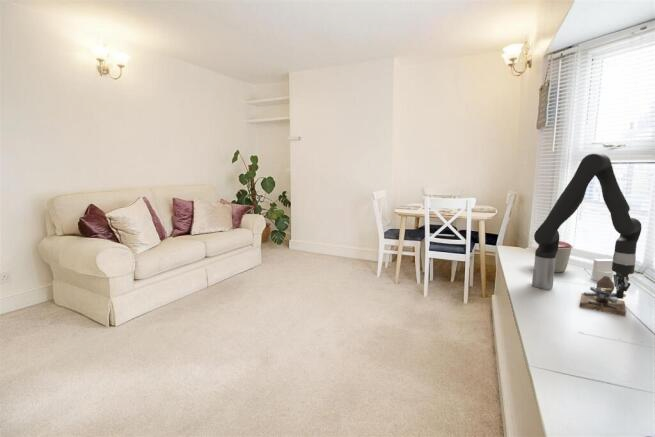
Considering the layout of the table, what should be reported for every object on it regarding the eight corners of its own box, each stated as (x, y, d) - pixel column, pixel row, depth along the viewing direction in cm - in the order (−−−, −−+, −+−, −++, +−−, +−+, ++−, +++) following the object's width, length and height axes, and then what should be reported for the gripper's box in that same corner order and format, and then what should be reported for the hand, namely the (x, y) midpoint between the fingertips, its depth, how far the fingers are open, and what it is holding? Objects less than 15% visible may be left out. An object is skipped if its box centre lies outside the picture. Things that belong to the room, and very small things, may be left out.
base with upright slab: (603, 277, 187) (606, 257, 185) (616, 282, 178) (618, 262, 176) (587, 277, 188) (589, 257, 186) (598, 282, 179) (601, 262, 177)
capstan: (594, 307, 145) (596, 294, 144) (574, 294, 160) (575, 282, 159) (637, 309, 142) (639, 296, 141) (612, 295, 157) (614, 283, 156)
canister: (568, 268, 205) (572, 235, 201) (571, 276, 190) (575, 242, 186) (535, 264, 214) (537, 233, 211) (535, 271, 199) (538, 239, 196)
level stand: (579, 306, 151) (580, 301, 151) (581, 296, 162) (581, 291, 161) (625, 315, 141) (626, 310, 141) (623, 304, 151) (624, 299, 151)
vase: (616, 295, 162) (618, 279, 160) (600, 295, 163) (602, 278, 162) (607, 290, 168) (609, 274, 167) (592, 289, 170) (594, 274, 168)
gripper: (608, 257, 152) (604, 291, 155) (618, 265, 140) (613, 302, 143) (628, 258, 149) (624, 294, 152) (640, 267, 137) (635, 305, 140)
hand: (619, 298), depth 147 cm, fingers closed
